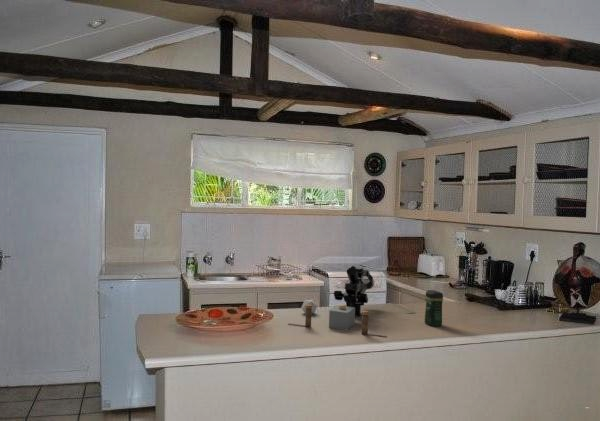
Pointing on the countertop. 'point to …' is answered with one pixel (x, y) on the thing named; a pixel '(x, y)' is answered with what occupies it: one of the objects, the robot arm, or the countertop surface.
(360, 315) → the robot arm
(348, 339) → the countertop surface
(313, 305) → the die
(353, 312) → the gray block
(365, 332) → the brown l-shaped pieces
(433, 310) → the coffee jar
